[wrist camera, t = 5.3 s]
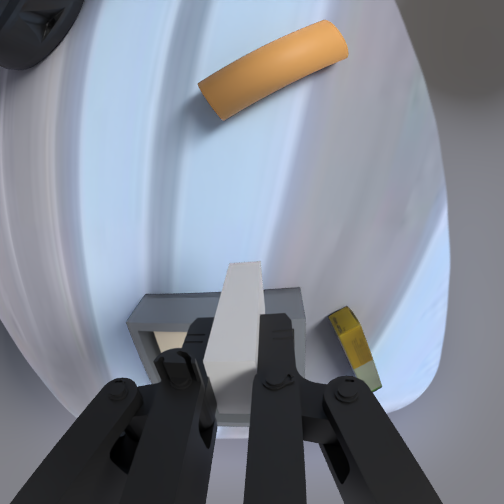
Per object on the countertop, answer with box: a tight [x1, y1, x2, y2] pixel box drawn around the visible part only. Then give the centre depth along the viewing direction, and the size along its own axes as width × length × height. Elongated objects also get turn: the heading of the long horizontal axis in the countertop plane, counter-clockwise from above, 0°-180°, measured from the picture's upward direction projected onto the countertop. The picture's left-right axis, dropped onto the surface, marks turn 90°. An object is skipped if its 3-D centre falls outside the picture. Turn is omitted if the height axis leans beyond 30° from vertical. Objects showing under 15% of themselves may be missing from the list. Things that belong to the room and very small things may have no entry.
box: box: [126, 287, 306, 427], centre depth 31 cm, size 17×17×6 cm
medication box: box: [328, 306, 382, 392], centre depth 30 cm, size 12×3×4 cm, turn 28°
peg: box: [198, 20, 348, 121], centre depth 20 cm, size 4×4×12 cm
